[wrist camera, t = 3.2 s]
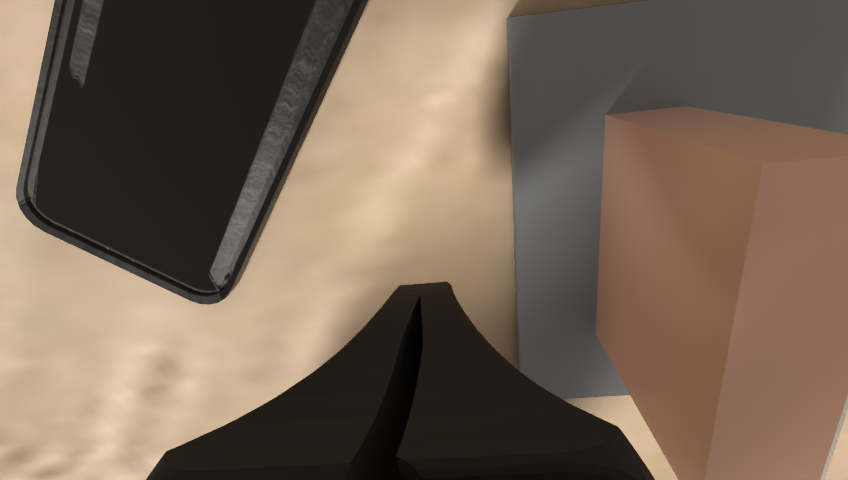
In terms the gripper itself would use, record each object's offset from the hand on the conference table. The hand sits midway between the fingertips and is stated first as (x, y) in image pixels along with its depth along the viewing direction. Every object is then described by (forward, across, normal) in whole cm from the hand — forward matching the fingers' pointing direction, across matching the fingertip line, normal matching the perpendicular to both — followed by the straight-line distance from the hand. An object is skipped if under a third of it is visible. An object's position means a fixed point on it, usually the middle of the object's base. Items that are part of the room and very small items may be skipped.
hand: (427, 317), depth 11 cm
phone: (+6, +7, -6) cm, 11 cm away
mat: (+5, -10, 0) cm, 11 cm away
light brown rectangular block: (+4, -7, 0) cm, 8 cm away
